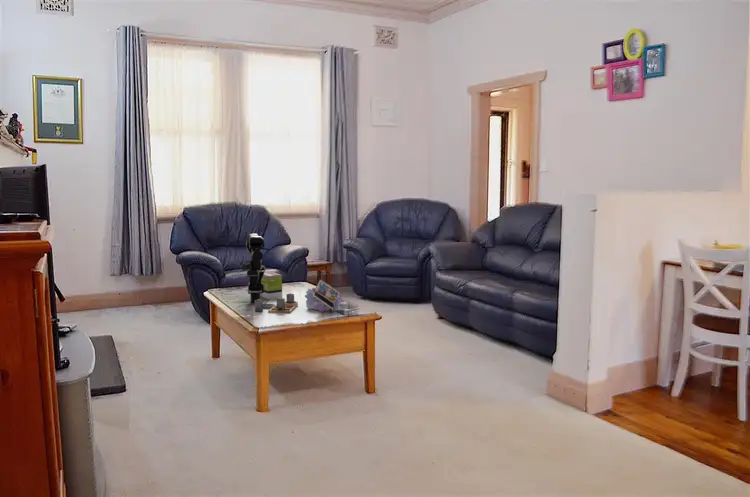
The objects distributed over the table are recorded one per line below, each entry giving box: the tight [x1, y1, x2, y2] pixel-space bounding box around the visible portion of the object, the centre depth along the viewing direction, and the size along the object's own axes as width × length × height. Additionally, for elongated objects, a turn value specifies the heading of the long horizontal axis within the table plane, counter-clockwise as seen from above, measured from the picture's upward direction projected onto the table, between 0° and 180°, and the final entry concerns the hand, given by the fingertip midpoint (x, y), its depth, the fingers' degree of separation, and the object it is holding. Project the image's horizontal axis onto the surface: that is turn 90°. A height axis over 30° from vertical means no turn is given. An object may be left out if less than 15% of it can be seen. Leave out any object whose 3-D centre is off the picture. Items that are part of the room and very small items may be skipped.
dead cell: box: [285, 292, 295, 303], centre depth 367 cm, size 4×4×8 cm
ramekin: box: [285, 300, 299, 308], centre depth 367 cm, size 8×8×3 cm
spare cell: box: [254, 298, 264, 313], centre depth 352 cm, size 4×4×8 cm
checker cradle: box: [263, 303, 277, 311], centre depth 363 cm, size 12×10×2 cm
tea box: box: [260, 271, 283, 300], centre depth 399 cm, size 15×10×15 cm, turn 37°
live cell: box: [276, 297, 286, 311], centre depth 352 cm, size 4×4×8 cm
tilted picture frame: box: [304, 279, 342, 313], centre depth 361 cm, size 20×22×18 cm
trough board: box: [268, 304, 296, 314], centre depth 356 cm, size 14×12×2 cm
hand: (256, 285), depth 365 cm, fingers open, 9 cm apart
